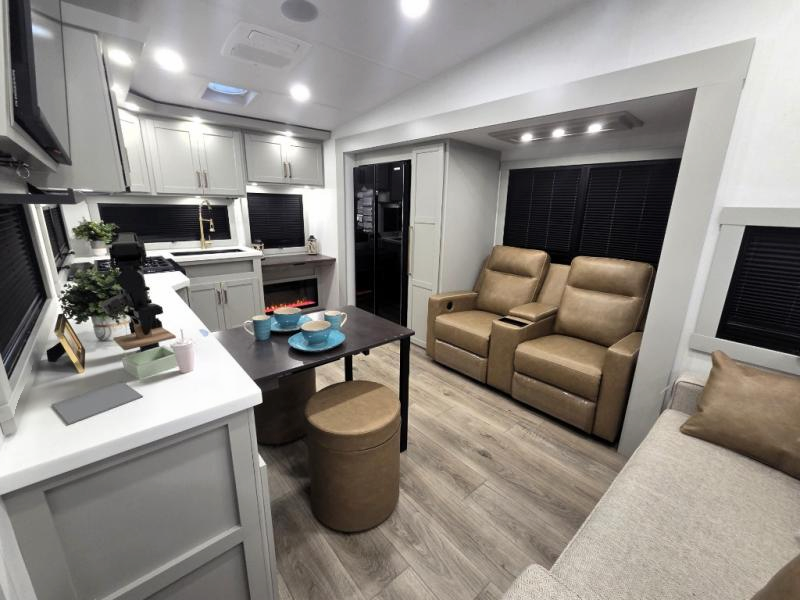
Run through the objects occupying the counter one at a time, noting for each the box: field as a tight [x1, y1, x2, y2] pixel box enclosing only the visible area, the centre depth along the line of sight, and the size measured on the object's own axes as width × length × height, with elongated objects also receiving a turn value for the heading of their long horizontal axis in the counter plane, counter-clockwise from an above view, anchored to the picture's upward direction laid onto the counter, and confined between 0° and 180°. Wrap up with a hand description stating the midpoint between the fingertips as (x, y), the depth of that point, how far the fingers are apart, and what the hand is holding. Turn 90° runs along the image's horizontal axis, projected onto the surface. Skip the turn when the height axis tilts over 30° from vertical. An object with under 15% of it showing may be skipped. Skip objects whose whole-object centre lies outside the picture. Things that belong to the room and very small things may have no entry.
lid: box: [112, 324, 177, 351], centre depth 105 cm, size 13×13×5 cm
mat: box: [51, 380, 144, 426], centre depth 90 cm, size 15×15×1 cm
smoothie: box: [169, 328, 195, 374], centre depth 106 cm, size 6×6×14 cm
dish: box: [121, 345, 179, 380], centre depth 109 cm, size 12×12×4 cm
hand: (143, 333), depth 105 cm, fingers closed on lid, 4 cm apart
